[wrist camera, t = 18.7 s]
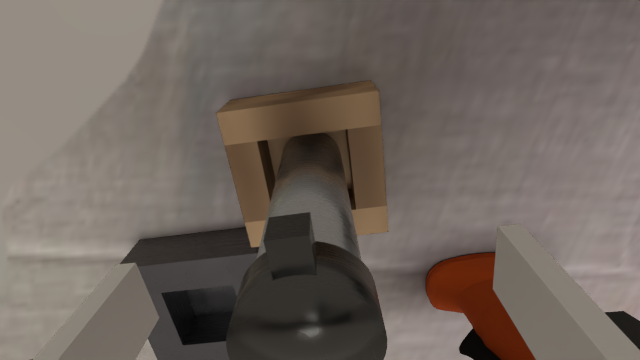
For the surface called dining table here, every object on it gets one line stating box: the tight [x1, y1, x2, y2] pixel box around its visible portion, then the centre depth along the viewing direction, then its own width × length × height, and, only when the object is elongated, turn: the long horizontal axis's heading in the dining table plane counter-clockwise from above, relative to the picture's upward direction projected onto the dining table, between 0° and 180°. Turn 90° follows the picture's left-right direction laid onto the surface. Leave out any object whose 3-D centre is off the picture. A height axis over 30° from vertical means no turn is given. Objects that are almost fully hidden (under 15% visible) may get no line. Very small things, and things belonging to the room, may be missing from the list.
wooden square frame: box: [216, 80, 388, 247], centre depth 23 cm, size 9×9×4 cm
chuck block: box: [120, 227, 259, 360], centre depth 27 cm, size 10×10×4 cm
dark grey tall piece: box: [226, 133, 387, 360], centre depth 17 cm, size 7×5×15 cm, turn 8°
